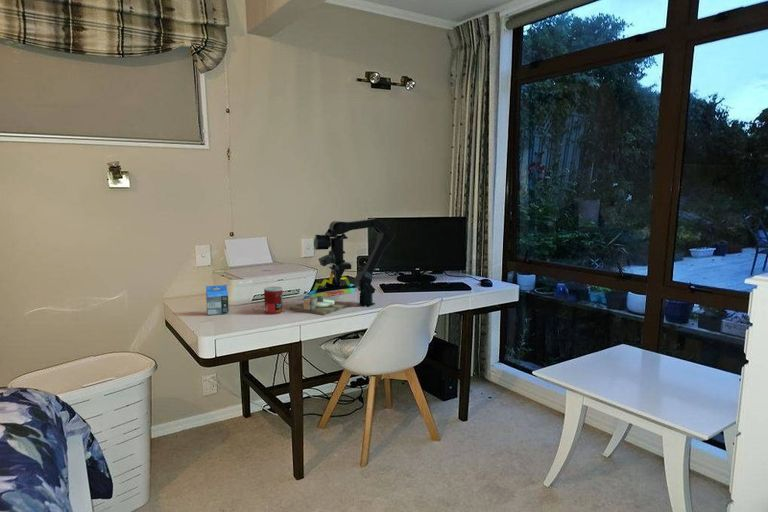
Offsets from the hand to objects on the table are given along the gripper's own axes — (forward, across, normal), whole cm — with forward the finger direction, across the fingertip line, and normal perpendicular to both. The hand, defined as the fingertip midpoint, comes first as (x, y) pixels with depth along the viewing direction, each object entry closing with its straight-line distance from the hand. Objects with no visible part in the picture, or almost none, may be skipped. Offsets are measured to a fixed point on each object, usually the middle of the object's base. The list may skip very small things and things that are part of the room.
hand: (337, 282), depth 222 cm
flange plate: (+10, -3, -9) cm, 14 cm away
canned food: (+12, -5, -28) cm, 32 cm away
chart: (+13, -25, +7) cm, 29 cm away
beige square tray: (+12, -4, -7) cm, 14 cm away
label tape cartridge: (+12, -14, -51) cm, 54 cm away
